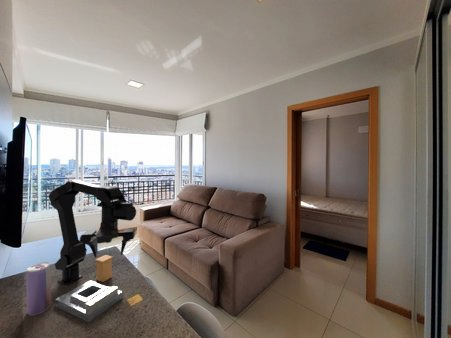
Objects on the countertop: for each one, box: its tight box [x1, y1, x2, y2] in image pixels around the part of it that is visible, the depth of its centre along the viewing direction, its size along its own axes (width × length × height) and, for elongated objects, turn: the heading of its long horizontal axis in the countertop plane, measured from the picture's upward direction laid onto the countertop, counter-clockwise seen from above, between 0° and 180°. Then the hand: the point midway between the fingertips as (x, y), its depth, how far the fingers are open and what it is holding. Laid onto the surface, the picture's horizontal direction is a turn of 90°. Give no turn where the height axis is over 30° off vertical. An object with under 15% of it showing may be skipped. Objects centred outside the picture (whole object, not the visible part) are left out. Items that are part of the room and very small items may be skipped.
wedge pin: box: [94, 254, 114, 283], centre depth 84 cm, size 5×5×9 cm
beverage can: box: [25, 262, 52, 317], centre depth 66 cm, size 6×6×15 cm
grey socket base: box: [54, 280, 123, 323], centre depth 70 cm, size 18×12×4 cm, turn 68°
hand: (109, 255), depth 78 cm, fingers open, 9 cm apart
